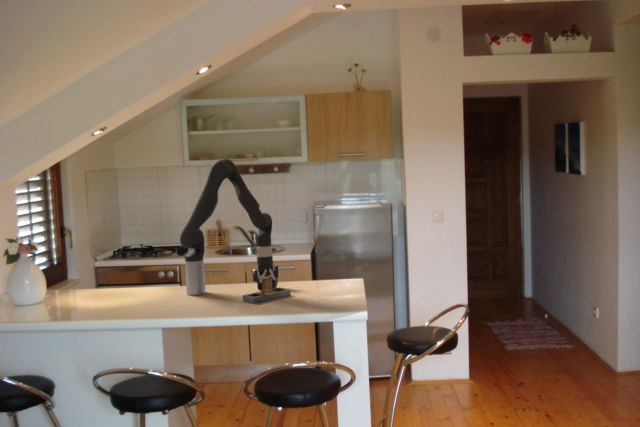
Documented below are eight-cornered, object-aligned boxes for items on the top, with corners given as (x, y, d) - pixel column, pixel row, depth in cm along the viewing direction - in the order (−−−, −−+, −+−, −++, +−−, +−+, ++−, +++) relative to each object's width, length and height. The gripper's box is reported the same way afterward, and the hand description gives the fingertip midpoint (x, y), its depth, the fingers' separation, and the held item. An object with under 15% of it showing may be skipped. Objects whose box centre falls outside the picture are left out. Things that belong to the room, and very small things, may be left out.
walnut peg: (261, 298, 340) (260, 278, 339) (268, 297, 343) (266, 277, 342) (266, 299, 337) (265, 279, 336) (272, 298, 340) (271, 278, 339)
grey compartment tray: (242, 301, 336) (242, 294, 336) (279, 293, 350) (279, 286, 350) (253, 304, 329) (253, 297, 329) (290, 295, 344) (290, 289, 343)
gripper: (271, 252, 345) (273, 285, 347) (247, 256, 336) (249, 290, 338) (281, 253, 340) (283, 287, 341) (256, 257, 330) (259, 292, 332)
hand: (266, 288), depth 339 cm, fingers open, 7 cm apart
